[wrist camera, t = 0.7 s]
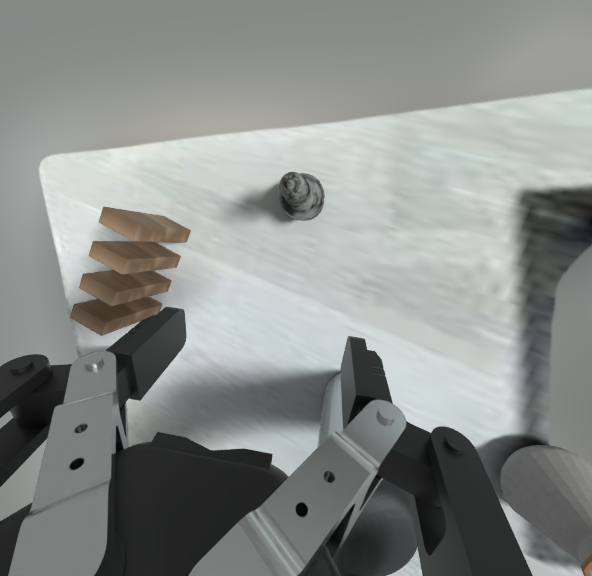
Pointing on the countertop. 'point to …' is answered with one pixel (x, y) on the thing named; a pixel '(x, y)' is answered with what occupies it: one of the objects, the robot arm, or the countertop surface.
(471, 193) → the countertop surface
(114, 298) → the domino
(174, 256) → the domino
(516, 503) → the coffee pot
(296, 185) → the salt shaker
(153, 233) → the domino
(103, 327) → the domino
